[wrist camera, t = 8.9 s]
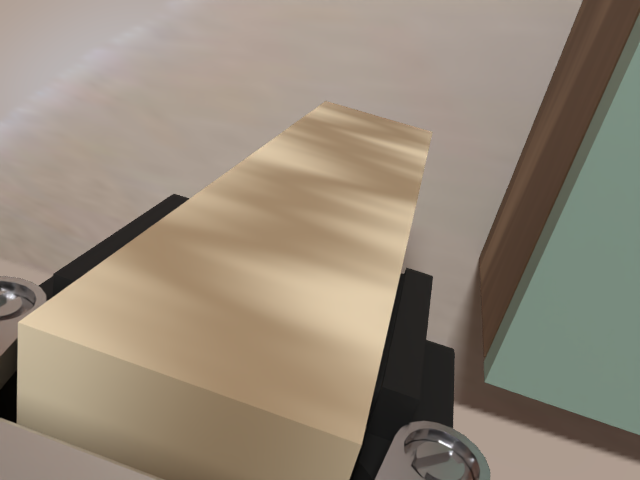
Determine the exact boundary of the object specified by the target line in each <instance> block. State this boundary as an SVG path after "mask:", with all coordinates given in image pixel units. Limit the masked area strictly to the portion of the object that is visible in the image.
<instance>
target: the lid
mask: <svg viewBox="0 0 640 480" xmlns="http://www.w3.org/2000/svg"><path fill="white" fill-rule="evenodd" d="M484 381H485V383H488V384H491V385H494V386H497V387H500V388H503V389H506V390H509V391H512V392H515V393H518V394H520V395H523V396H526V397H529V398H532V399H535V400H538V401H541V402H544V403H547V404H550V405H553V406H556V407H559V408H562V409H564V410H567V411H570V412H573V413H576V414H579V415H582V416H585V417H588V418H591V419H594V420H597V421H600V422H603V423H606V424H608V425H611V426H614V427H617V428H620V429H623V430H626V431H629V432H632V433H635V434H638V435H640V13H639V16H638V18H637V20H636V22H635V24H634V27H633V29H632V31H631V33H630V36H629V38H628V40H627V42H626V45H625V47H624V49H623V51H622V54H621V56H620V58H619V60H618V63H617V65H616V67H615V69H614V72H613V74H612V76H611V78H610V81H609V83H608V85H607V87H606V89H605V92H604V94H603V96H602V98H601V101H600V103H599V105H598V107H597V110H596V112H595V114H594V116H593V119H592V121H591V123H590V125H589V128H588V130H587V132H586V134H585V137H584V139H583V141H582V143H581V145H580V148H579V150H578V152H577V154H576V157H575V159H574V161H573V163H572V166H571V168H570V170H569V172H568V175H567V177H566V179H565V181H564V184H563V186H562V188H561V190H560V193H559V195H558V197H557V199H556V201H555V204H554V206H553V208H552V210H551V213H550V215H549V217H548V219H547V222H546V224H545V226H544V228H543V231H542V233H541V235H540V237H539V240H538V242H537V244H536V246H535V249H534V251H533V253H532V255H531V257H530V260H529V262H528V264H527V266H526V269H525V271H524V273H523V275H522V278H521V280H520V282H519V284H518V287H517V289H516V291H515V293H514V296H513V298H512V300H511V302H510V305H509V307H508V309H507V311H506V313H505V316H504V318H503V320H502V322H501V325H500V327H499V329H498V331H497V334H496V336H495V338H494V340H493V343H492V345H491V347H490V349H489V352H488V354H487V356H486V358H485V361H484Z"/></svg>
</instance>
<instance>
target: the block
mask: <svg viewBox="0 0 640 480" xmlns="http://www.w3.org/2000/svg"><path fill="white" fill-rule="evenodd" d="M431 137H432V132H431V131H427V130H424V129H420V128H417V127H413V126H410V125H406V124H403V123H399V122H396V121H393V120H389V119H386V118H382V117H379V116H375V115H372V114H368V113H365V112H362V111H358V110H355V109H351V108H348V107H344V106H341V105H337V104H334V103H331V102H327V101H325V102H324V103H322V104H321V105H320V106H318V107H317V108H315V109H314V110H313V111H311V112H310V113H308V114H307V115H306V116H304V117H303V118H302V119H300V120H299V121H297V122H296V123H295V124H293V125H292V126H290V127H289V128H288V129H286V130H285V131H283V132H282V133H281V134H279V135H278V136H276V137H275V138H274V139H272V140H271V141H269V142H268V143H267V144H265V145H264V146H263V147H261V148H260V149H258V150H257V151H256V152H254V153H253V154H251V155H250V156H249V157H247V158H246V159H244V160H243V161H242V162H240V163H239V164H237V165H236V166H235V167H233V168H232V169H231V170H229V171H228V172H226V173H225V174H224V175H222V176H221V177H219V178H218V179H217V180H215V181H214V182H212V183H211V184H210V185H208V186H207V187H205V188H204V189H203V190H201V191H200V192H199V193H197V194H196V195H194V196H193V197H192V198H190V199H189V200H187V201H186V202H185V203H183V204H182V205H180V206H179V207H178V208H176V209H175V210H173V211H172V212H171V213H169V214H168V215H167V216H165V217H164V218H162V219H161V220H160V221H158V222H157V223H155V224H154V225H153V226H151V227H150V228H148V229H147V230H146V231H144V232H143V233H141V234H140V235H139V236H137V237H136V238H135V239H133V240H132V241H130V242H129V243H128V244H126V245H125V246H123V247H122V248H121V249H119V250H118V251H116V252H115V253H114V254H112V255H111V256H109V257H108V258H107V259H105V260H104V261H102V262H101V263H100V264H98V265H97V266H96V267H94V268H93V269H91V270H90V271H89V272H87V273H86V274H84V275H83V276H82V277H80V278H79V279H77V280H76V281H75V282H73V283H72V284H70V285H69V286H68V287H66V288H65V289H64V290H62V291H61V292H59V293H58V294H57V295H55V296H54V297H52V298H51V299H50V300H48V301H47V302H45V303H44V304H43V305H41V306H40V307H38V308H37V309H36V310H34V311H33V312H32V313H30V314H29V315H27V316H26V317H25V318H23V319H22V320H20V321H19V322H18V358H17V424H19V425H21V426H24V427H27V428H29V429H32V430H35V431H37V432H40V433H43V434H45V435H48V436H51V437H53V438H56V439H58V440H61V441H64V442H66V443H69V444H72V445H74V446H77V447H80V448H82V449H85V450H88V451H90V452H93V453H96V454H98V455H101V456H103V457H106V458H109V459H111V460H114V461H117V462H119V463H122V464H125V465H127V466H130V467H132V468H135V469H138V470H140V471H143V472H146V473H148V474H151V475H154V476H156V477H159V478H161V479H164V480H349V479H350V476H351V474H352V471H353V468H354V465H355V462H356V460H357V457H358V454H359V451H360V448H361V446H362V442H363V437H364V433H365V428H366V424H367V420H368V415H369V411H370V406H371V402H372V397H373V393H374V389H375V384H376V380H377V375H378V371H379V367H380V362H381V358H382V353H383V349H384V344H385V340H386V336H387V331H388V327H389V322H390V318H391V313H392V309H393V305H394V300H395V296H396V291H397V287H398V283H399V278H400V274H401V269H402V265H403V260H404V256H405V252H406V247H407V243H408V238H409V234H410V229H411V225H412V221H413V216H414V212H415V207H416V203H417V199H418V194H419V190H420V185H421V181H422V176H423V172H424V168H425V163H426V159H427V154H428V150H429V145H430V141H431Z"/></svg>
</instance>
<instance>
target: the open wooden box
mask: <svg viewBox="0 0 640 480" xmlns="http://www.w3.org/2000/svg"><path fill="white" fill-rule="evenodd" d="M639 13H640V0H583V2H582V4H581V7H580V9H579V12H578V14H577V17H576V19H575V22H574V24H573V27H572V29H571V32H570V34H569V37H568V39H567V42H566V44H565V47H564V49H563V51H562V54H561V56H560V59H559V61H558V64H557V66H556V69H555V71H554V74H553V76H552V79H551V81H550V84H549V86H548V89H547V91H546V94H545V96H544V99H543V101H542V104H541V106H540V109H539V111H538V114H537V116H536V118H535V121H534V123H533V126H532V128H531V131H530V133H529V136H528V138H527V141H526V143H525V146H524V148H523V151H522V153H521V156H520V158H519V161H518V163H517V166H516V168H515V171H514V173H513V176H512V178H511V181H510V183H509V186H508V188H507V190H506V193H505V195H504V198H503V200H502V203H501V205H500V208H499V210H498V213H497V215H496V218H495V220H494V223H493V225H492V228H491V230H490V233H489V235H488V238H487V240H486V243H485V245H484V248H483V250H482V253H481V255H480V257H479V263H480V284H481V306H482V327H483V348H484V357H486V356H487V354H488V352H489V349H490V347H491V345H492V343H493V340H494V338H495V336H496V334H497V331H498V329H499V327H500V325H501V322H502V320H503V318H504V316H505V313H506V311H507V309H508V307H509V305H510V302H511V300H512V298H513V296H514V293H515V291H516V289H517V287H518V284H519V282H520V280H521V278H522V275H523V273H524V271H525V269H526V266H527V264H528V262H529V260H530V257H531V255H532V253H533V251H534V249H535V246H536V244H537V242H538V240H539V237H540V235H541V233H542V231H543V228H544V226H545V224H546V222H547V219H548V217H549V215H550V213H551V210H552V208H553V206H554V204H555V201H556V199H557V197H558V195H559V193H560V190H561V188H562V186H563V184H564V181H565V179H566V177H567V175H568V172H569V170H570V168H571V166H572V163H573V161H574V159H575V157H576V154H577V152H578V150H579V148H580V145H581V143H582V141H583V139H584V137H585V134H586V132H587V130H588V128H589V125H590V123H591V121H592V119H593V116H594V114H595V112H596V110H597V107H598V105H599V103H600V101H601V98H602V96H603V94H604V92H605V89H606V87H607V85H608V83H609V81H610V78H611V76H612V74H613V72H614V69H615V67H616V65H617V63H618V60H619V58H620V56H621V54H622V51H623V49H624V47H625V45H626V42H627V40H628V38H629V36H630V33H631V31H632V29H633V27H634V24H635V22H636V20H637V18H638V16H639Z"/></svg>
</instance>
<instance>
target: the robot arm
mask: <svg viewBox="0 0 640 480" xmlns="http://www.w3.org/2000/svg"><path fill="white" fill-rule="evenodd" d="M187 200H189V198H186V197H183V196H180V195H176V194H173V195H171V196H170V197H168V198H167V199H165V200H164V201H162V202H161V203H159V204H158V205H156V206H155V207H153V208H152V209H150V210H149V211H147V212H146V213H144V214H143V215H141V216H140V217H138V218H137V219H135V220H134V221H132V222H131V223H129V224H128V225H126V226H125V227H123V228H122V229H120V230H119V231H117V232H116V233H114V234H113V235H111V236H110V237H108V238H107V239H105V240H104V241H102V242H101V243H99V244H98V245H96V246H95V247H93V248H92V249H90V250H89V251H87V252H86V253H84V254H83V255H81V256H80V257H78V258H77V259H75V260H74V261H72V262H71V263H69V264H68V265H66V266H65V267H63V268H62V269H60V270H59V271H57V272H56V273H54V275H53V276H52V277H51V278H49V279H48V280H46V281H45V282H44V283H42V284H41V285H39V286H38V285H36V284H34V283H33V282H30V281H27V280H24V279H21V278H15V277H8V276H0V480H164V479H161V478H159V477H156V476H154V475H151V474H148V473H146V472H143V471H140V470H138V469H135V468H132V467H130V466H127V465H125V464H122V463H119V462H117V461H114V460H111V459H109V458H106V457H103V456H101V455H98V454H96V453H93V452H90V451H88V450H85V449H82V448H80V447H77V446H74V445H72V444H69V443H66V442H64V441H61V440H58V439H56V438H53V437H51V436H48V435H45V434H43V433H40V432H37V431H35V430H32V429H29V428H27V427H24V426H21V425H19V424H17V358H18V322H19V321H20V320H22V319H23V318H25V317H26V316H27V315H29V314H30V313H32V312H33V311H34V310H36V309H37V308H38V307H40V306H41V305H43V304H44V303H45V302H47V301H48V300H50V299H51V298H52V297H54V296H55V295H57V294H58V293H59V292H61V291H62V290H64V289H65V288H66V287H68V286H69V285H70V284H72V283H73V282H75V281H76V280H77V279H79V278H80V277H82V276H83V275H84V274H86V273H87V272H89V271H90V270H91V269H93V268H94V267H96V266H97V265H98V264H100V263H101V262H102V261H104V260H105V259H107V258H108V257H109V256H111V255H112V254H114V253H115V252H116V251H118V250H119V249H121V248H122V247H123V246H125V245H126V244H128V243H129V242H130V241H132V240H133V239H135V238H136V237H137V236H139V235H140V234H141V233H143V232H144V231H146V230H147V229H148V228H150V227H151V226H153V225H154V224H155V223H157V222H158V221H160V220H161V219H162V218H164V217H165V216H167V215H168V214H169V213H171V212H172V211H173V210H175V209H176V208H178V207H179V206H180V205H182V204H183V203H185V202H186V201H187ZM432 280H433V276H431V275H428V274H425V273H421V272H418V271H415V270H412V269H409V268H406V270H405V273H404V274H400V278H399V283H398V287H397V291H396V296H395V300H394V305H393V309H392V313H391V318H390V322H389V327H388V331H387V336H386V340H385V344H384V349H383V353H382V358H381V362H380V367H379V371H378V375H377V380H376V384H375V389H374V393H373V397H372V402H371V406H370V411H369V415H368V420H367V424H366V428H365V433H364V437H363V442H362V446H361V448H360V451H359V454H358V457H357V460H356V462H355V465H354V468H353V471H352V474H351V476H350V479H349V480H490V469H489V466H488V464H487V461H486V459H485V457H484V456H483V454H482V453H481V452H480V450H479V449H478V447H477V446H476V445H475V444H473V443H472V442H471V441H470V440H469V439H468V438H467V437H466V436H464V435H462V434H461V433H459V432H457V431H456V430H454V429H453V404H454V359H455V353H454V349H452V348H449V347H446V346H443V345H440V344H437V343H434V342H431V341H428V340H426V336H427V327H428V317H429V308H430V299H431V290H432Z"/></svg>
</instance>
